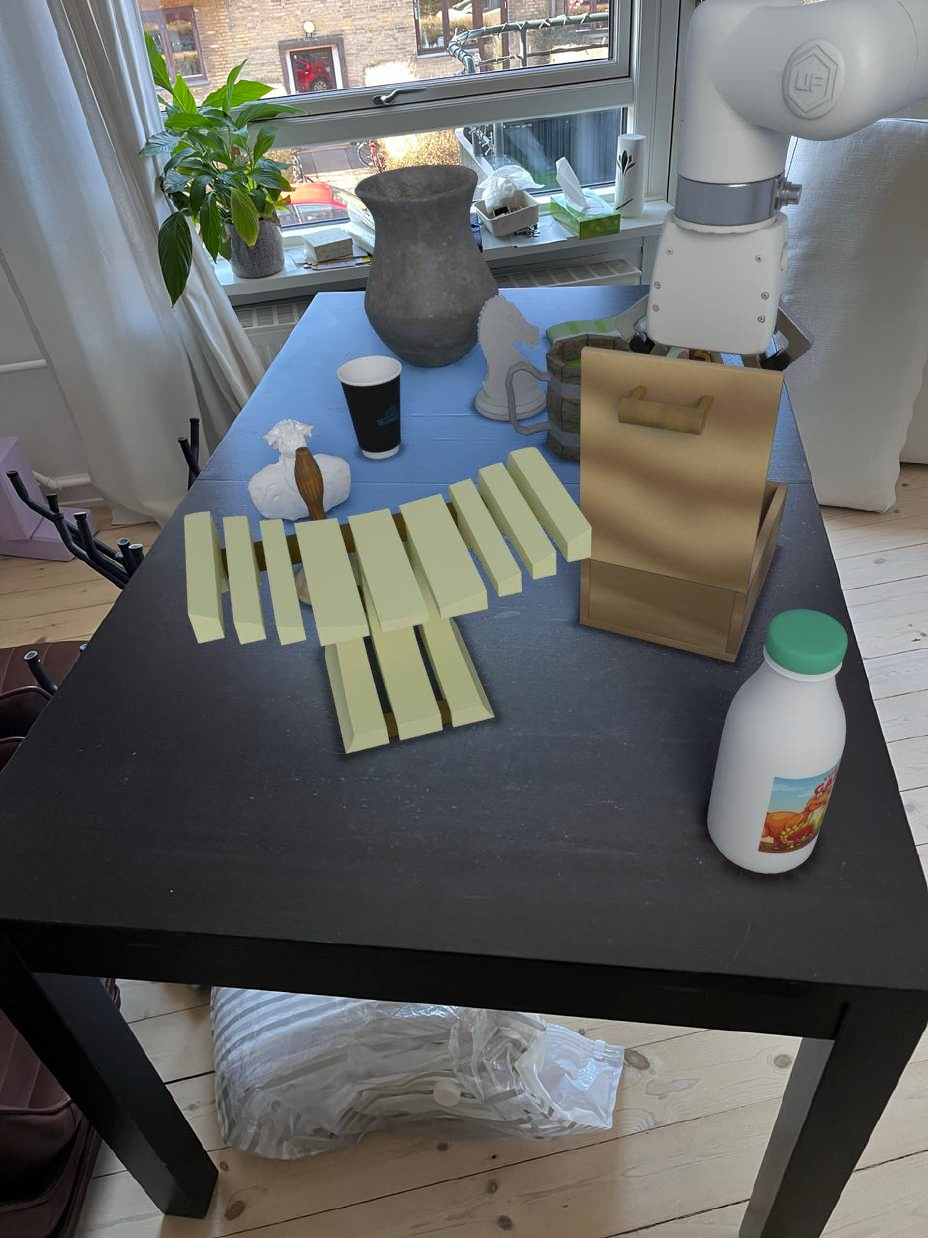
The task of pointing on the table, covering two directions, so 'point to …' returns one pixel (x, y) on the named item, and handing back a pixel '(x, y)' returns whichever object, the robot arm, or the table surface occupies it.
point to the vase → (425, 263)
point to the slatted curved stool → (390, 588)
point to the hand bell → (311, 507)
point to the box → (681, 597)
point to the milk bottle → (781, 747)
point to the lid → (675, 462)
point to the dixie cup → (374, 403)
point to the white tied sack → (277, 481)
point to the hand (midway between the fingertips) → (701, 415)
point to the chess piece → (506, 361)
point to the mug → (561, 392)
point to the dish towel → (595, 331)
